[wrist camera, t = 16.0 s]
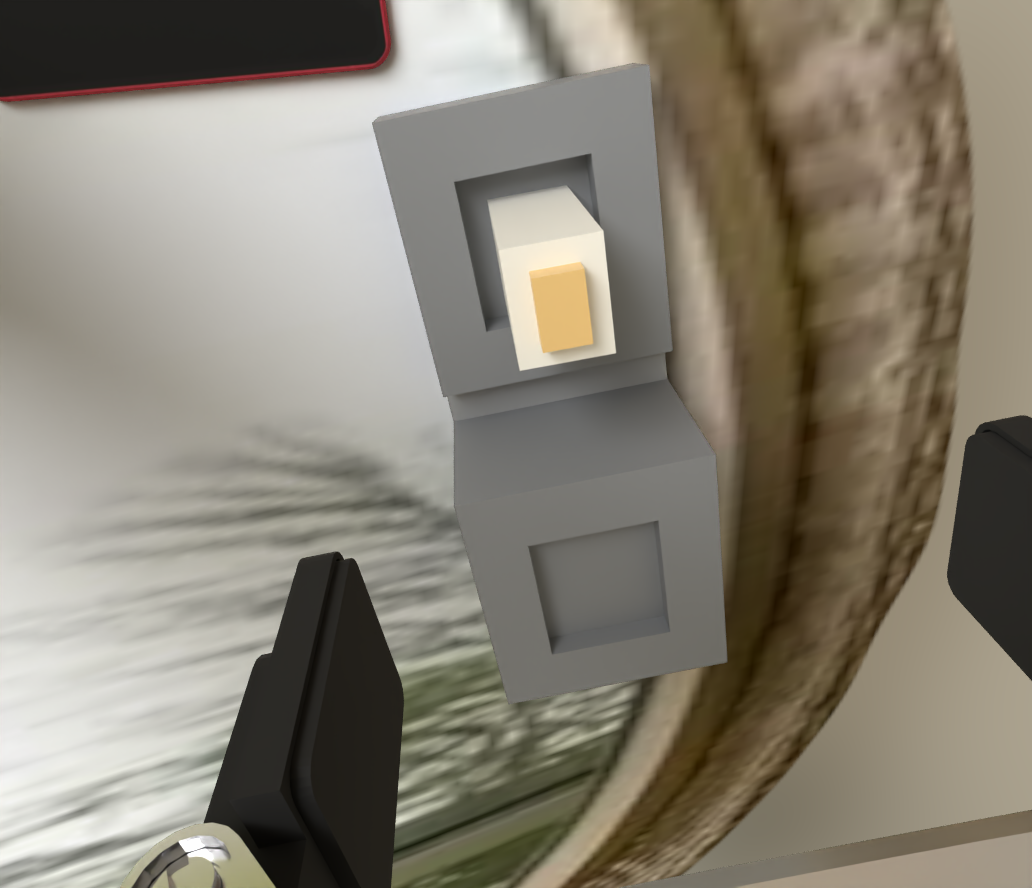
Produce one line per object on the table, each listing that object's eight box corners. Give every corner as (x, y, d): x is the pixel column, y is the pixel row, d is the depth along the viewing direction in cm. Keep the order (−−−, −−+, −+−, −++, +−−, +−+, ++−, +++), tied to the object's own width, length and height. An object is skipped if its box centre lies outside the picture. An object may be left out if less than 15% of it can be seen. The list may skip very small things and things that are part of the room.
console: (378, 117, 28) (353, 141, 21) (633, 63, 28) (694, 69, 21) (498, 587, 40) (508, 704, 33) (678, 552, 39) (727, 662, 32)
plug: (487, 199, 29) (500, 257, 21) (566, 184, 29) (608, 237, 21) (504, 296, 31) (521, 380, 23) (578, 282, 31) (620, 362, 23)
